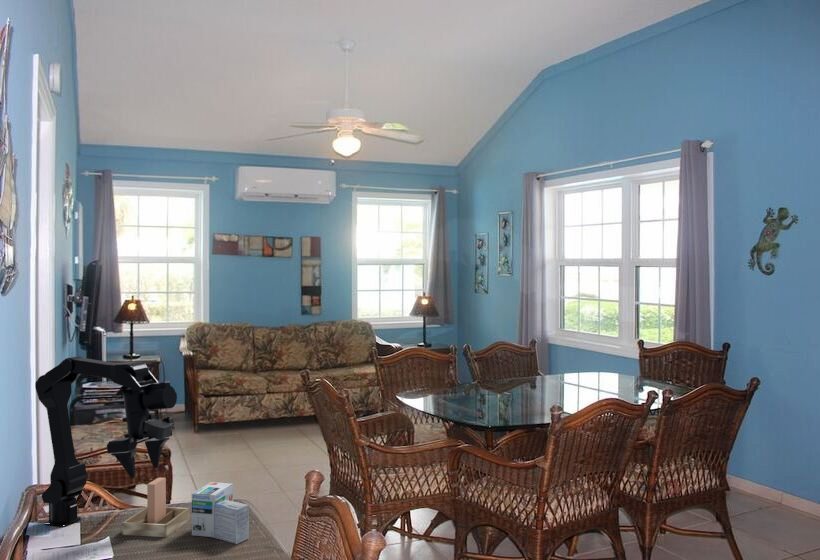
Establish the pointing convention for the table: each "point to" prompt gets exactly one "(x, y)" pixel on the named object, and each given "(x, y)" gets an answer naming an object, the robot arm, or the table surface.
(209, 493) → the light bulb box
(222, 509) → the medicine box
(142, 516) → the slot box
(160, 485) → the rectangular block
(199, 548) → the table surface
